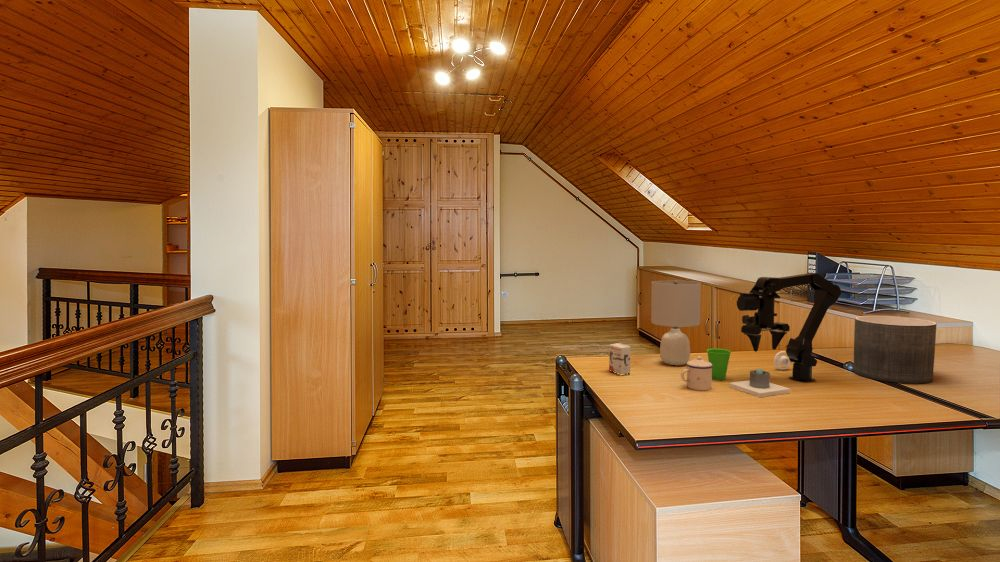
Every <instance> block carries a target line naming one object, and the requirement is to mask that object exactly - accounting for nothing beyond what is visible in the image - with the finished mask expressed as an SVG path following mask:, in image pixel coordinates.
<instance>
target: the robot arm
mask: <svg viewBox="0 0 1000 562" xmlns="http://www.w3.org/2000/svg"><path fill="white" fill-rule="evenodd" d="M804 285H809V287H810V288H811V289H812V290H813V291H814V294H813V301H814V302H813V305H812V307H811V309H810V311H809V313H808V316H807V318H806V320H805V321H804V324H803V326H802V328H801V330H800V332H799V334H798V336H796V337H795V338H792V337H790V339H789V340H788V342H787V345H786V346H785V351H786V353H787V354H786V357H787V358H788V359H790V362H792V374H791V375H792V376H789V379H791V380H795V381H798V382H802V383H806V382H813V381H816V378H813V376H812V375H813V367H816V366H817V363H818V360H817V359H816V358H815V357H814V355H812V353H813V349H814V348H813V340H814V339H815V337H816V334H817V331H818V330H819V329H820V326H821V324H822V322H823V320H824V318H825V316H826V314H827V311H828V309H829V308H830V307H831V306H833V305H835V303H837V301H838V300H839V299H840V297H841V295H842V289H841V287H840V286H839V285H838V284H835V283H833V282H832V281H830V280H829V279H827V278H824V277H823V276H822V275H821V274H819V273H817V272H807V273H802V274H795V275H789V276H788V275H787V276H781V277H776V276H775V277H772V276H771V277H769V276H761V277H757V280H756V282H755V283H754V285H753V287H752V288H751V290H750V291H749V292H747V293H746V292H740V293H739V296H738V297H737V299H736V307H737V309H738V311H740V312H743V311H744V312H749V311H751V312H752V311H754V315H752V316H750V315H748V314H747V315H746V314H745V315H742V317H741V322H742V324H743V325H742V326H741V327H740V332H741V334H742V333H743V334H744V335H746V337H748V338H749V341H750V343H751V347H752V350H753V352H755V353H757V352H758V350H759V348H760V343H761V338H762V334H761V333H762V332H765V331H767V332H768V331H769V333H770V334H771V349H772V350H777V348H778V346H779V344H780V342H781V341H782V340H783V338H784V336H785V335H787V334H788V332H790V331H791V329H790V325H789V323H785V322H779V321H777V322H776V321H775V317H777V316H778V313H776V312H775V301H776V299H781V295H779V294H778V293H777V292H780V291H782V290H783V289H786V288H790V287H791V288H792V287H797V286H804ZM755 311H756V312H755Z"/></svg>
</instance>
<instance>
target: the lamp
mask: <svg viewBox="0 0 1000 562" xmlns="http://www.w3.org/2000/svg"><path fill="white" fill-rule="evenodd" d="M701 285H702V283H701V282H700V281H692V280H655V281H651V309H650V310H651V311H650V313H651V316H650V317H651V319H650V322H651V324H653V325H656V326H662V327H671V328H670V330H669V331H668V332H665V333H664V334H662V337H661V341H660V344H659V345H660V347H659V355H660V359H661V361H662V362H663V363H665V364H666V365H670V366H674V365H675V366H676V367H677V366H684V365H685V364H687V362H688V361H690V359H691V358H690V357H691V346H690V345H691V344H690V340H689V337H688V335H687V334H685V333H683V332H682V331H681V329H680V328H686V327H689V328H690V327H697V326H699V325H701V294H702V293H701V292H702V290H701V288H702V287H701Z"/></svg>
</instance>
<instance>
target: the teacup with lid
mask: <svg viewBox="0 0 1000 562" xmlns="http://www.w3.org/2000/svg"><path fill="white" fill-rule="evenodd" d="M712 367H713V366H712V364H711V363H710V362H709V361H707V360H706V359H703V356H700V355H698V356H696V358H694V359H692V360H689V361H688V362H687V363H686V368H684V369H683V370H682V371H681V372H680V378H681V380H682V382H685V383H686V387H687V388H689V389H690V390H695V391H709V390H711V389H712V386H713V385H712V384H713V383H712V381H713V379H712ZM685 374H686V378H685Z"/></svg>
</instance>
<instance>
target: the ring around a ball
mask: <svg viewBox="0 0 1000 562" xmlns="http://www.w3.org/2000/svg"><path fill="white" fill-rule="evenodd" d="M773 364H774V366H775V368H776V369H778V370H780V371H784V370H788V368H790V366H791V365H792V364H793V362H790V359H789V357H788V356H787V353H786V350H781V351H778V352H777V353H776V354H775V355H774V358H773ZM779 365H780V366H779ZM781 366H782V367H781Z"/></svg>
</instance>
